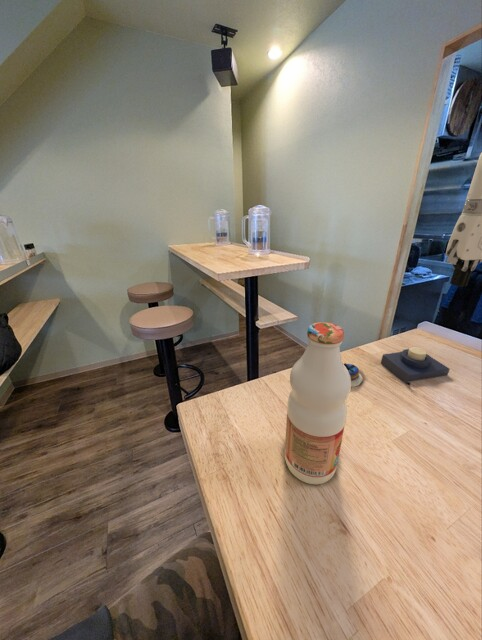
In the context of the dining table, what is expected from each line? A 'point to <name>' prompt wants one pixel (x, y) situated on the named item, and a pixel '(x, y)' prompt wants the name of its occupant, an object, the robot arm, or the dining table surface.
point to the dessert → (354, 374)
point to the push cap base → (413, 367)
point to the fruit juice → (317, 406)
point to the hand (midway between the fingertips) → (458, 284)
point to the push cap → (417, 353)
